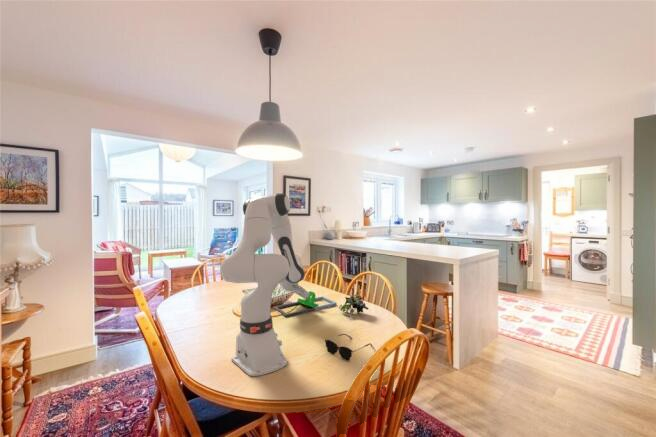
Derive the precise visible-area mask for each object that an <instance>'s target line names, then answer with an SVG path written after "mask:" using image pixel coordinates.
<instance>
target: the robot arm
mask: <svg viewBox="0 0 656 437" xmlns="http://www.w3.org/2000/svg"><path fill="white" fill-rule="evenodd" d="M290 211H291V202H290V199H289V197H288V196H287V195H286V194H285V193H282V192H281V193H275V194H274V193H273V194H267V195H259V196H257V197H253V198H252V197H250V198H249V199H247V200H245V201H244V203H243V205H242V212H243V215H244V218H243V220H244V221H243V229H242V230H243V231H242V238H241V239H240V240H241V241H240V243H239V244H238V246H237V247H236V248H235V250H234V251H233V252H232V253H230V254H229V255H228V256H226V257H225V258H224V259H223V260H222V262H221V265H220V267H219V268H220V271H219V272H220V275H221V277H222V279H223V280H224V281H225V282H226V283H232V284H233V283H234V284H250V283H251V284H252V283H254V284H257V286H256V287H255V288H254V289H253V290H251V291H249V292H247V293H246V294H244V295H243V297H242V298H241V301H240V308H241V310H240V312H241V313H240V315H241V317H240V319H239V320H240V321H239V329H240V331H239V333H238V334H237V336H236V340H235V354H233V356H232V357H231V362H233V363H234V364H235V365H236V366H238V367H239V368H240V369H241V370H242V371H243V372H245V373H246V375H248V376H250V377H256V376H263V375H267V374H270V373H273V372H276V371H279V370H280V369H282V368H284V367H286V365H287V364H288V362H287V358H286V356H285V354H284V352H283V350H282V347H281V346H283V340H282V339H278V338H277V337H278V333H277V332H275V329H274V328H275V327H274V326H273V324H274V323H273V318H272V314H271V313H272V312H271V308H272V306H271V305H272V297H273V295H274V294H273V293H274V291H275V289H276V288H277V286H278V285H280V287H281V288H283V289H284V290H285V292H291V293H294V294H295V295H297V296H299V297H301V298H302V299H304V300H305V299H307V298H308V297H309V295H310V294H309V293H308V292H309V291H307V290H306V289H305V288H304V287H303V286H302V285H300V284H299V283H300V282H301V281H302V280H304V278H305V270H304V268H303V264H302V260H301V258H300V256H299V255H298V254H295V251H294V248H293V235H292V234H293V233H292V224H291V221H290V218H289V215H288V213H289V212H290ZM271 235H272V236H271ZM272 237H273V240H274V242H275V243H276V245H277V247H278V249H279V250H280V254H279V253H257V251H259V250H260V249H262V248H264V247H266V246H267V245H268V244H269V243H270V242H271V238H272Z"/></svg>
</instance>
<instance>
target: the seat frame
mask: <svg viewBox="0 0 656 437" xmlns="http://www.w3.org/2000/svg"><path fill="white" fill-rule="evenodd" d="M301 304H302V303H299V302H297V301H294V302H290V303H284V304H279V305H275V306H273V310H275V311H276V312H277V311H278V312H277V313H279V312H280V313H281V314H280V313H279V314H280V315H282V316H283V318H288V317H294V316H297V315H302V314H307V313H311V312H314V311H316V310H315V308H313V307H311V308H306V309H301V310H296V311H294V312H293V311H292V312H288V313H286V312H285V311H284V310H282V309H283V307H284V308H287V307H288V306H289V307H293V306H297V305H301Z"/></svg>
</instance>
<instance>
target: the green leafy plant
mask: <svg viewBox="0 0 656 437" xmlns="http://www.w3.org/2000/svg"><path fill="white" fill-rule="evenodd" d="M338 309H339V310H340V311H341V312H343V313H344V312H345V315H348V312H349V313H350V314H349V317H351V316H352V315H353V313H354V312H355V311H357V313H359V312H360V313H364V309H365V310H369V307H368V306H366V303H365V302H364V300H363V298H362V296H360V295H358V294H354V295H351V296H349V297H347V296H345V302H344V304H343V305H342V304H340V305H339V307H338Z"/></svg>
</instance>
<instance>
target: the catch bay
mask: <svg viewBox="0 0 656 437" xmlns="http://www.w3.org/2000/svg"><path fill="white" fill-rule="evenodd" d="M322 300H323V301H324V302H327V304H323V305H318V306H317V307H312V308H315V311H317V310H322V309H326V308H331V307H336V306H337V302H336V301H333V300H331V299H329V298H327V297H326V296H324V295H322V296H319V297H315V301H314V302H316V301H322Z"/></svg>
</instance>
